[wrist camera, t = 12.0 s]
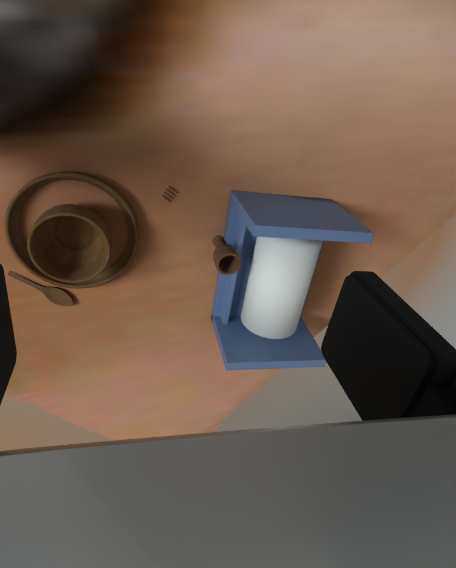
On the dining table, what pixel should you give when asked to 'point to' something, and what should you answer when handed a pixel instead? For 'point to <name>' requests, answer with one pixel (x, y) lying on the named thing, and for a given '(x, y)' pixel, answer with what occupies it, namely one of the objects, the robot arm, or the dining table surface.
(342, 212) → the holder
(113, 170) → the dining table surface
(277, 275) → the roll
